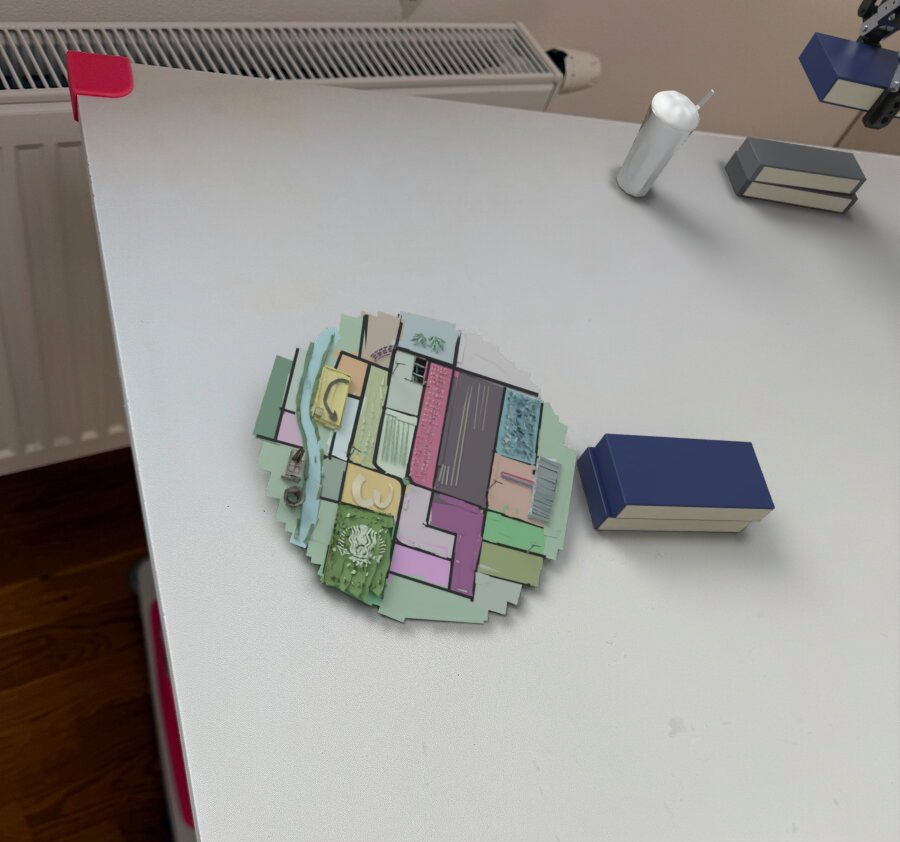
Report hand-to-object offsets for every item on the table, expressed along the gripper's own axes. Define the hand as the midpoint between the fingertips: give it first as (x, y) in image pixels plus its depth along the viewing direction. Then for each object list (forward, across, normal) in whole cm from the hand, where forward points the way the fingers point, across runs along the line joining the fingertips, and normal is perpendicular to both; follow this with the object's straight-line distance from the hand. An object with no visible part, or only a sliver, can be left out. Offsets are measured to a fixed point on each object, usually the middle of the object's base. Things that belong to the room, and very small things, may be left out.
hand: (857, 100), depth 91 cm
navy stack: (+11, -38, +27) cm, 48 cm away
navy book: (-1, 0, 0) cm, 1 cm away
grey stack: (+11, 0, 0) cm, 11 cm away
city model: (+11, -37, +47) cm, 61 cm away
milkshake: (+11, -3, +19) cm, 22 cm away
